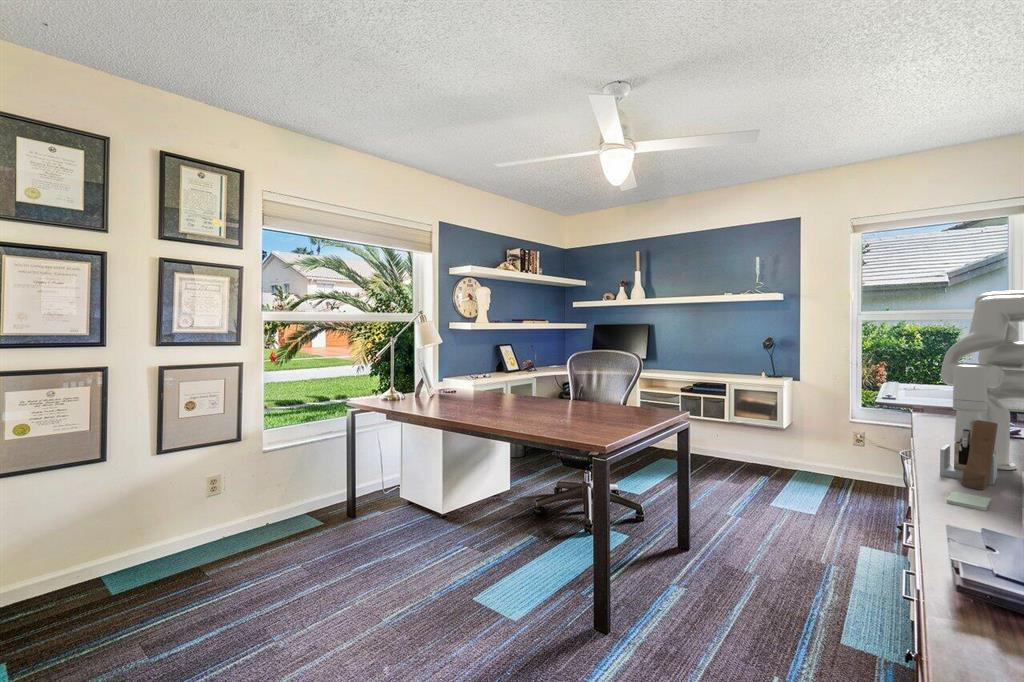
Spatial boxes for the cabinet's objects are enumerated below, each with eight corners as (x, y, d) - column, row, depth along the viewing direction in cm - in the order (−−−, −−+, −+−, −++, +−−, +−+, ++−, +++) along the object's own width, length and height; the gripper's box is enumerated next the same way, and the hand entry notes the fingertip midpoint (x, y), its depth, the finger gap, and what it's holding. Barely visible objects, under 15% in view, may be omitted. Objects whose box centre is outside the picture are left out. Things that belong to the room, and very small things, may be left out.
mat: (953, 494, 130) (953, 491, 130) (990, 501, 125) (990, 498, 125) (946, 502, 124) (946, 499, 124) (985, 510, 119) (985, 507, 118)
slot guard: (945, 469, 154) (946, 444, 154) (996, 477, 145) (997, 451, 145) (939, 475, 148) (940, 449, 147) (993, 484, 139) (993, 456, 139)
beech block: (956, 466, 150) (956, 440, 150) (982, 470, 145) (983, 444, 145) (953, 468, 147) (954, 442, 147) (981, 473, 143) (981, 446, 143)
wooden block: (982, 491, 133) (992, 427, 131) (961, 485, 137) (969, 423, 135) (989, 484, 139) (998, 423, 137) (967, 479, 142) (976, 419, 141)
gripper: (957, 401, 154) (956, 455, 155) (948, 406, 143) (946, 464, 144) (990, 404, 149) (988, 460, 149) (983, 410, 138) (981, 470, 138)
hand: (968, 462), depth 146 cm, fingers open, 9 cm apart
